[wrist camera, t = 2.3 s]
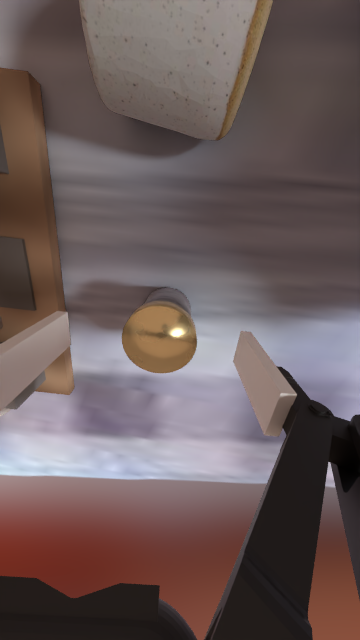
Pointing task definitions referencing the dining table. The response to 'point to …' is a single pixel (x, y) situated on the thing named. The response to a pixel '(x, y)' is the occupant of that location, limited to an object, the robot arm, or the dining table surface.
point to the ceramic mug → (174, 59)
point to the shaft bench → (28, 227)
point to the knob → (161, 332)
